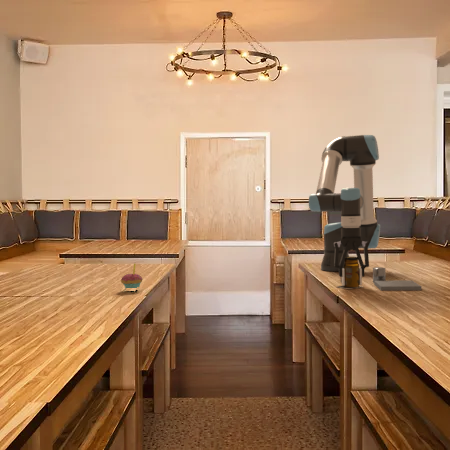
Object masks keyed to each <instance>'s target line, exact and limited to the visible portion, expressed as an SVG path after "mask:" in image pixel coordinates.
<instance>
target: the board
mask: <svg viewBox="0 0 450 450" xmlns="http://www.w3.org/2000/svg"><path fill="white" fill-rule="evenodd" d="M373 285H374V286H376V288H378V290H380V291H383V290H384V291H422V289H423V286H422V285H420V284H419V283H417V282H415V281H414V280H413V279H412V280H411V279H409V280H407V279H406V280H398V279H397V280H386V281H374V283H373Z"/></svg>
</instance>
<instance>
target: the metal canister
mask: <svg viewBox="0 0 450 450" xmlns="http://www.w3.org/2000/svg"><path fill="white" fill-rule="evenodd" d="M374 281H387V280H386V267H381V266H379V267H378V266H377V267H376V266H375V267H372V283H373V284H374Z"/></svg>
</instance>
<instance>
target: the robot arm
mask: <svg viewBox="0 0 450 450" xmlns="http://www.w3.org/2000/svg"><path fill="white" fill-rule="evenodd" d="M379 154H380V153H379V146H378V141H377V138H376V136H375V135H373V134H360V135H348V136H346V135H345V136H344V135H343V136H339V137H337V138H334V139H333V140H332V141H330V142H329V143H328V144H327V145H326V147H324V149H323V152H322V154H321V163H322V165H321V169H320V173H319V178H318V182H317V186H316V191H315V193H311V194H309V197H308V207H309V210H310V211H311V212H316V213H317V212H319V213H321V212H341V213H340V216H341V217H340V218H341V219H340V222H332V223H328V224H326V225H324V227H323V243H324V244H323V245H324V246H323V250H324V251H323V252H324V253H323V257H322V259H321V263H320V270H321V271H324V272H338V275H339V276H338V277H339V278H340V277H342V283H341V285H343V286H345V277H344V263H345V258H346V257H350V254H349V251H354V252H355V254H356V257H358V264H359V286H363V277H365V269H366V268H369V267H370V259H369V258H370V257H369V249H376V248H378V246H379V240H380V234H381V224H379V223H378V220H377V219H376V218H375V217H374V216H375V215H374V213H375V212H374V185H373V183H374V182H373V181H374V179H373V177H374V176H373V168H374V166H375V165H376V164H377V162H376V161H378V160H379V159H380V155H379ZM343 162H349V165H350V167H351V168H353V169H352V170H353V187H345V188H344V187H343V188H341V190H340V193H339V192H338V193H335V190H336V184H337V179H338V175H339V168H340V166H341V164H342V163H343ZM360 249H363V255H364V260H363V259H362V256H361V255H362V254H361V253H360V252H361V251H360ZM363 261H364V262H363Z"/></svg>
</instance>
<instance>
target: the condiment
mask: <svg viewBox="0 0 450 450" xmlns="http://www.w3.org/2000/svg"><path fill="white" fill-rule="evenodd" d="M359 268H360V264H359V261H358V257H357V256H349V257H346V258H345V263H344V277H345V286H343V285H342V284H341V285H336V288H340V289H346V290H353V289H360V288H361V289H362V288H364V286H363V285H359Z"/></svg>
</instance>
